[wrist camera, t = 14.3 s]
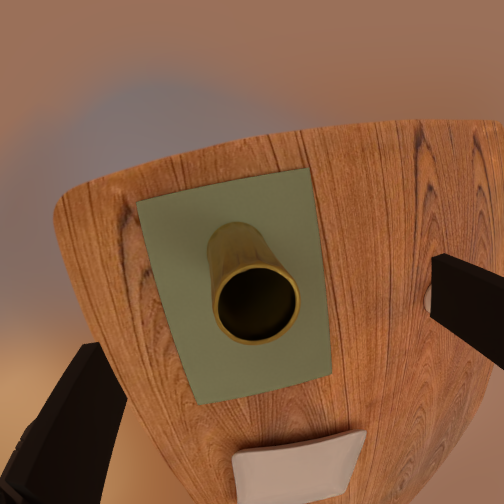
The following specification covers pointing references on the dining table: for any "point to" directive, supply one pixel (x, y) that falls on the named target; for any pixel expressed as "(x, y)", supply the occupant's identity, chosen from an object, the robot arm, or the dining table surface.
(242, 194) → the mat
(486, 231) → the dining table surface
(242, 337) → the fluted gold cylinder
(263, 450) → the plate
